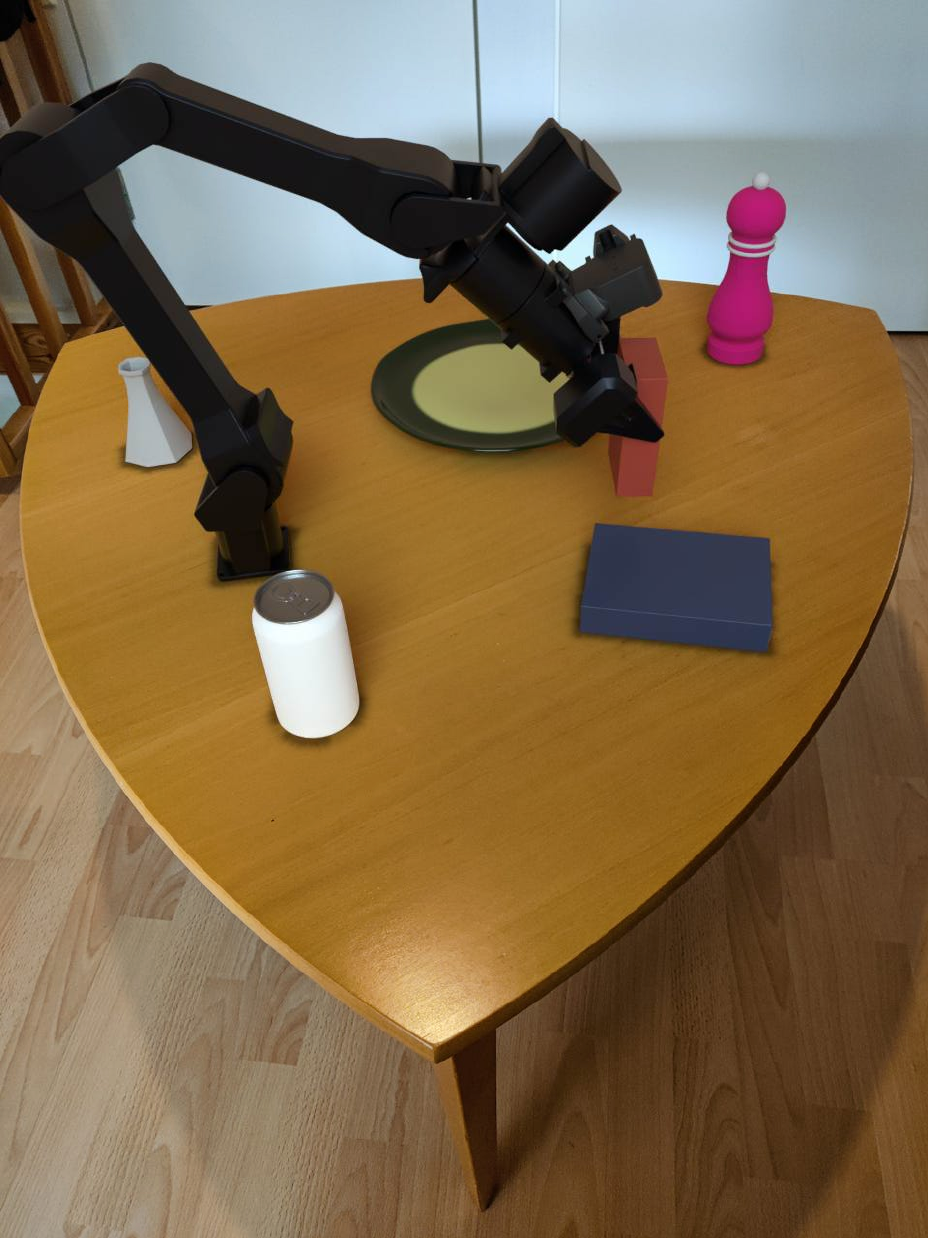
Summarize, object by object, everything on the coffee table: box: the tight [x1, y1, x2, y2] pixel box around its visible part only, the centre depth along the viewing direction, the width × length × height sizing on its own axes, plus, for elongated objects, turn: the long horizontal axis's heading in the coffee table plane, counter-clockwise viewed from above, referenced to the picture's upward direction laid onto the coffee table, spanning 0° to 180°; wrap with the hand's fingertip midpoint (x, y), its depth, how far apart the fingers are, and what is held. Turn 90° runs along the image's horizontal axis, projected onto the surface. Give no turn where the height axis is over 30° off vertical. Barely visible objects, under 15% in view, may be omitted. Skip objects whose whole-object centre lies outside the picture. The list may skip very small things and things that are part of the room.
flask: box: [117, 356, 193, 468], centre depth 102 cm, size 7×7×10 cm
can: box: [251, 568, 360, 739], centre depth 73 cm, size 6×6×12 cm
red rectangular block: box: [607, 337, 669, 498], centre depth 81 cm, size 3×6×11 cm, turn 0°
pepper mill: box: [706, 171, 787, 366], centre depth 108 cm, size 7×7×20 cm
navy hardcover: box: [579, 522, 774, 653], centre depth 84 cm, size 15×11×3 cm
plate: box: [370, 318, 569, 453], centre depth 109 cm, size 28×28×2 cm
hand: (653, 414), depth 81 cm, fingers closed on red rectangular block, 6 cm apart
